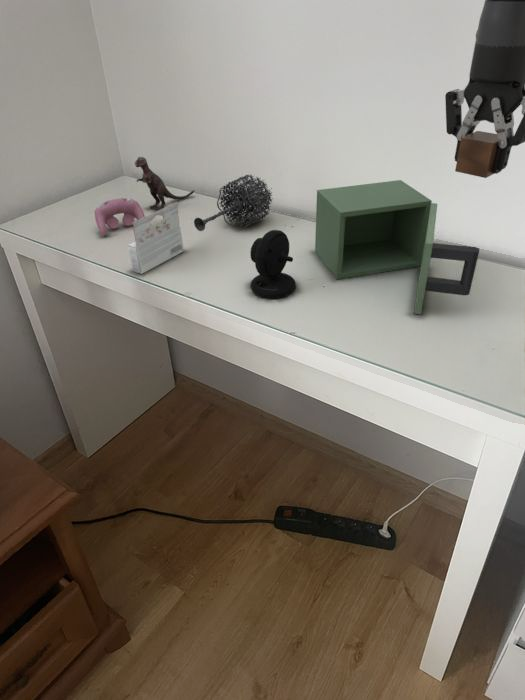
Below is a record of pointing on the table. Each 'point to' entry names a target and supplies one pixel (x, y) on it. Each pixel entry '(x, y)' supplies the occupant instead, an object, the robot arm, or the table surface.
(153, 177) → the dinosaur model
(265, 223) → the table surface
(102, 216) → the video game controller
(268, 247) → the webcam
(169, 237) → the ink cartridge box
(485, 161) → the block
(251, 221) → the massage brush
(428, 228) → the door
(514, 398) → the table surface
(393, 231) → the cupboard
